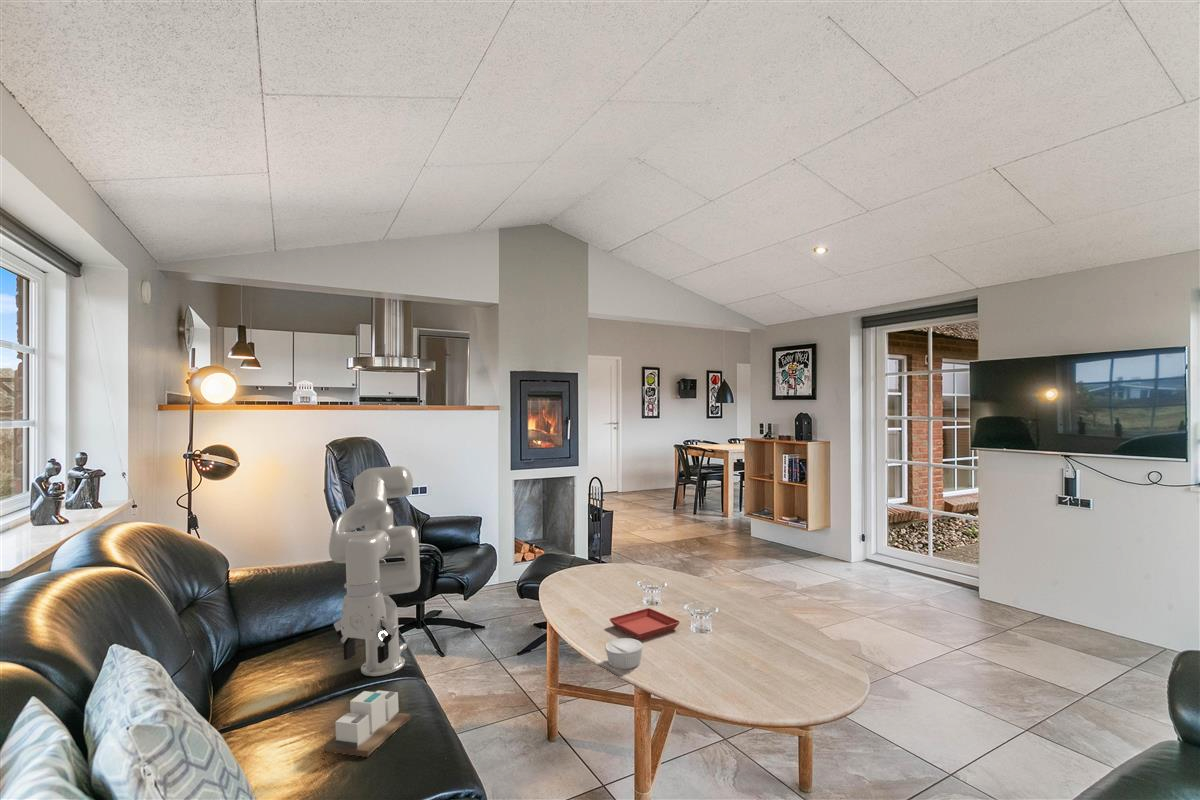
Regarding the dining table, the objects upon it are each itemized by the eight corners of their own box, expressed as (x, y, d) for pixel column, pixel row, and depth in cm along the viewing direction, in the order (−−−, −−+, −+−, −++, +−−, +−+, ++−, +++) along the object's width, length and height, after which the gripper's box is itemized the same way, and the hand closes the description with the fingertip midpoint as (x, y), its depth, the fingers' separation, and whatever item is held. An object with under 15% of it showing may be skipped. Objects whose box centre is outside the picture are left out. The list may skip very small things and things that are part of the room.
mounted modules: (378, 709, 146) (377, 689, 146) (398, 711, 144) (397, 691, 144) (336, 742, 131) (335, 720, 131) (357, 745, 130) (357, 723, 130)
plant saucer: (649, 616, 210) (648, 607, 210) (681, 630, 194) (681, 620, 194) (608, 628, 200) (608, 618, 200) (639, 644, 185) (638, 634, 185)
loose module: (365, 719, 141) (364, 690, 141) (385, 722, 139) (384, 692, 139) (351, 730, 136) (350, 700, 136) (372, 733, 134) (371, 702, 135)
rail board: (370, 715, 147) (369, 704, 147) (410, 720, 144) (410, 709, 144) (324, 751, 132) (323, 739, 132) (367, 758, 128) (367, 745, 128)
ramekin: (600, 668, 168) (599, 650, 168) (613, 653, 178) (612, 636, 178) (636, 673, 164) (635, 655, 164) (647, 657, 174) (647, 639, 174)
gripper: (322, 591, 137) (325, 663, 137) (384, 595, 132) (386, 669, 132) (345, 582, 144) (347, 650, 144) (403, 585, 140) (406, 655, 139)
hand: (366, 659), depth 138 cm, fingers open, 9 cm apart
